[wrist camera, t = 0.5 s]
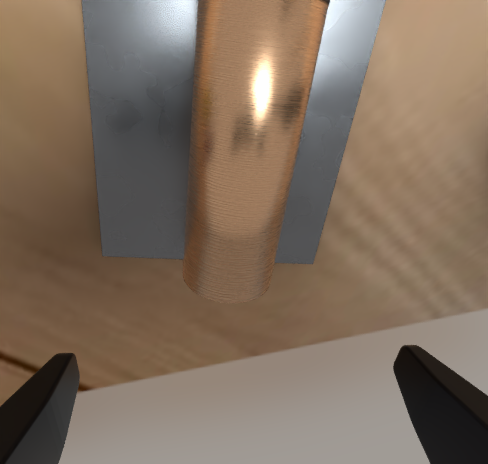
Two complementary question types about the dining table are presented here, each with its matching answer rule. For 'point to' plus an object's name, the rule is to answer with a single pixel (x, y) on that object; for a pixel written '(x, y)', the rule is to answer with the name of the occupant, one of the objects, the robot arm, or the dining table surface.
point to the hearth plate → (179, 122)
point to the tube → (245, 138)
